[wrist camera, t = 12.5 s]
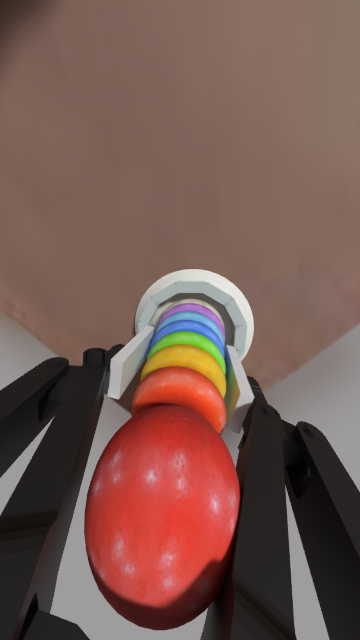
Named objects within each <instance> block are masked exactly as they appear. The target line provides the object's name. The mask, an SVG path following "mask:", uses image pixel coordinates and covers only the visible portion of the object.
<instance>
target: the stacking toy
mask: <svg viewBox="0 0 360 640" xmlns="http://www.w3.org/2000/svg"><path fill="white" fill-rule="evenodd" d="M224 343H225V330H224V323H223V320H222V318H221V316H220V314H219V313H218V311H217V310H216V309H215V308H214V307H213V306H211V305H210V304H208V303H206V302H204V301H202V300H199V299H192V298H189V299H182V300H179V301H176V302H174V303H173V304H171V305H170V306H169V307H168V308H167V309H166V310H165V311H164V312H163V314H162V315H161V317H160V320H159V322H158V325H157V328H156V331H155V334H154V337H153V340H152V342H151V345H150V350H149V355H148V358H147V362H146V364H145V366H144V368H143V370H142V374H141V382H140V383H139V385H138V386H137V388H136V390H135V392H134V394H133V398H132V401H131V415H132V418H131V419H130V420H128V421H127V423H125V424H124V425H123V426H122V427H121V428H120V429H119V430H118V431H117V432H116V433H115V434H114V436H113V437H112V438H111V440H110V441H109V443H108V444H107V446H106V447H105V449H104V451H103V453H102V455H101V457H100V459H99V461H98V463H97V465H96V468H95V471H94V473H93V476H92V480H91V483H90V487H89V490H88V494H87V500H86V508H85V523H84V525H85V526H84V534H85V543H86V551H87V556H88V561H89V565H90V568H91V571H92V574H93V576H94V579H95V581H96V583H97V586H98V588H99V590H100V592H101V593H102V595H103V596H104V598H105V599H106V600H107V602H108V603H109V604H110V605H111V606H112V607H113V608H114V609H115V611H116V612H117V613H118V614H120V615H121V616H123V617H124V618H125V619H127V620H128V621H130V622H132V623H134V624H136V625H138V626H140V627H144V628H148V629H152V630H168V629H173V628H177V627H180V626H182V625H184V624H186V623H188V622H190V621H192V620H193V619H195V618H196V617H197V616H199V615H200V614H201V613H203V612H204V611H205V610H206V609H207V608H208V607H209V606H210V604H211V603H212V602H213V601H214V599H215V598H216V597H217V595H218V593H219V591H220V589H221V587H222V584H223V582H224V578H225V575H226V572H227V569H228V565H229V562H230V558H231V554H232V550H233V545H234V541H235V536H236V531H237V526H238V520H239V513H240V505H241V492H240V485H239V481H238V477H237V473H236V469H235V465H234V463H233V460H232V458H231V455H230V453H229V450H228V448H227V446H226V445H225V443H224V441H223V440H222V438H221V436H220V435H221V433H222V432H223V429H224V425H225V420H226V409H225V404H224V397H225V393H226V379H225V375H226V365H225V361H224V360H225V353H224V348H225V344H224Z"/></svg>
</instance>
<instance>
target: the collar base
mask: <svg viewBox="0 0 360 640" xmlns="http://www.w3.org/2000/svg"><path fill="white" fill-rule="evenodd" d="M189 298H192V299H199V300H202V301H204V302H206V303H208V304H210V305H211V306H213V307H214V308H215V309H216V310H217V311H218V313H219V314H220V316H221V318H222V320H223V323H224V330H225V343H224V344H225V348H226V345H229V346H233V347H235V349H236V351H237V354H238V357H239V359H240V362H241V361H242V360H243V358H244V357H245V356H246V354H247V352H248V350H249V348H250V345H251V342H252V338H253V333H254V322H253V316H252V312H251V309H250V306H249V304H248V302H247V300H246V298H245V297H244V295H243V294H242V293H241V291H240V290H239V289H238V288H237V287H236V286H235V285H234V284H233V283H232V282H230V281H229V280H227V279H226V278H224V277H222V276H220V275H218V274H216V273H213V272H210V271H205V270H199V269H188V270H181V271H176V272H173V273H170V274H168V275H166V276H164V277H162V278H160V279H159V280H158V281H156V282H155V283H154V284H153V285H152V286H151V287H150V288H149V289H148V290H147V291H146V293H145V294H144V295H143V297H142V299H141V301H140V303H139V305H138V308H137V312H136V317H135V331H136V335H137V334H138V333H139V332H140V331H141V330H143V329H144V328H145V327H146V326H151V327H154V333H153V337H154V334H155V331H156V328H157V325H158V322H159V320H160V317H161V315H162V314H163V312H164V311H165V310H166V309H167V308H168V307H169V306H170V305H171V304H173V303H174V302H176V301H179V300H182V299H189ZM152 340H153V339H152ZM225 348H224V352H225ZM147 358H148V357H147Z"/></svg>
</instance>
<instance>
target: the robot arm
mask: <svg viewBox="0 0 360 640" xmlns="http://www.w3.org/2000/svg"><path fill="white" fill-rule="evenodd" d="M153 333H154V327H151V326H146V327H145V328H144V329H143V330H141V331H140V332H139V333H138V334H137V335H136V336H135V337H134V338H133V339H132V340H131V341H130V342H129V343H128V344H127V345H122V344H118V345H115V346H113V347H112V348H111V349H110V350H108V351H106V350H104V349H102V348H91V349H88V350H85V351H84V352H83V365H82V366H70V365H69V361H68V360H67V359H66V358H61V357H55V358H51V359H48V360H46V361H43V362H42V363H41V364H39V365H38V366H36V367H35V368H33V369H32V370H30V371H29V372H27V373H26V374H24V375H23V376H21V377H20V378H18V379H17V380H15V381H14V382H12V383H11V384H9V385H8V386H6V387H5V388H3V389H2V390H0V478H1V476H2V475H3V474H4V473H5V472H6V471H7V469H8V468H9V467H10V466H11V465H12V464H13V463H14V462H15V460H16V459H17V458H18V457H19V456H20V455H21V454H22V452H23V451H24V450H25V449H26V448H27V447H28V445H29V444H30V443H31V442H32V441H33V440H34V439H35V437H36V436H37V435H38V434H39V433H40V432H41V431H42V429H43V428H44V427H45V426H46V425H47V424H48V423H49V422H50V420H51V419H52V418H53V417H54V416H55V417H54V419H53V420H52V422H51V424H50V426H49V428H48V429H47V431H46V433H45V435H44V437H43V439H42V440H41V442H40V444H39V446H38V448H37V450H36V452H35V453H34V455H33V457H32V459H31V461H30V463H29V464H28V466H27V468H26V470H25V472H24V473H23V475H22V477H21V479H20V481H19V483H18V484H17V486H16V488H15V490H14V492H13V493H12V495H11V497H10V499H9V501H8V503H7V505H6V507H5V508H4V510H3V512H2V514H1V516H0V640H90V639H89V638H88V637H87V636H86V635H85V633H84V632H83V631H82V630H81V629H80V627H79V626H78V625H77V624H75V623H72V622H70V621H67V620H64V619H62V618H59V617H57V616H54V615H52V614H50V610H51V606H52V601H53V597H54V592H55V586H56V580H57V575H58V570H59V566H60V562H61V558H62V555H63V551H64V547H65V543H66V540H67V536H68V532H69V528H70V524H71V521H72V517H73V513H74V509H75V506H76V502H77V498H78V495H79V491H80V487H81V483H82V479H83V476H84V472H85V468H86V464H87V460H88V457H89V453H90V449H91V445H92V442H93V438H94V434H95V430H96V427H97V423H98V419H99V415H100V412H101V408H102V404H103V400H104V394H105V393H106V391H107V390H108V397H111V398H115V399H119V398H120V397H121V395H122V394H123V392H124V391H125V389H126V388H127V386H128V385H129V383H130V382H131V380H132V379H133V377H134V376H135V375H136V373H137V372H138V370H139V369H140V367H141V366H142V364H143V363H144V361H145V360H146V358H147V357H148V355H149V350H150V345H151V342H152V339H153ZM224 353H225V360H224V361H225V365H226V375H225V379H226V393H225V397H224V404H225V409H226V426H227V430H229V431H233V432H236V433H240V431H241V428H242V426H243V430H244V434H243V437H242V439H241V441H240V444H239V446H238V449H239V455H238V460H237V465H236V473H237V477H238V481H239V485H240V492H241V505H240V513H239V520H238V526H237V531H236V536H235V541H234V545H233V550H232V554H231V558H230V562H229V565H228V569H227V572H226V575H225V578H224V582H223V584H222V587H221V589H220V591H219V593H218V595H217V597H216V598H215V599H214V601H213V602H212V603H211V604H210V606H209V607H208V611H207V616H206V620H205V625H204V629H203V632H202V636H201V639H200V640H297V639H296V635H295V628H294V616H293V600H292V585H291V569H290V554H289V539H288V523H287V507H286V492H285V485H286V488H287V492H288V496H289V499H290V502H291V506H292V510H293V513H294V516H295V520H296V524H297V527H298V531H299V534H300V537H301V541H302V545H303V548H304V551H305V555H306V558H307V562H308V565H309V569H310V572H311V576H312V579H313V583H314V586H315V589H316V593H317V597H318V600H319V604H320V607H321V611H322V614H323V618H324V621H325V625H326V628H327V632H328V635H329V639H330V640H360V492H359V490H358V489H357V487H356V485H355V484H354V482H353V480H352V479H351V477H350V476H349V474H348V472H347V471H346V469H345V468H344V466H343V464H342V463H341V461H340V459H339V458H338V456H337V455H336V453H335V452H334V450H333V448H332V447H331V445H330V443H329V442H328V440H327V439H326V437H325V436H324V435H323V433H322V432H321V431H320V430H318V429H317V428H316V427H314V426H313V425H311V424H309V423H307V422H303V421H301V422H298V423H297V425H296V426H294V425H292V424H290V423H288V422H286V421H284V420H281V417H280V414H279V413H278V412H277V410H275V409H274V408H273V407H272V406H270V405H268V403H267V401H266V399H265V397H264V395H263V393H262V390H261V388H260V386H259V384H258V382H257V381H256V380H255V379H254V378H253V377H249V376H246V374H245V372H244V369H243V367H242V364H241V362H240V359H239V357H238V354H237V351H236V349H235V347H233V346H229V345H226V348H225V352H224Z"/></svg>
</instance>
